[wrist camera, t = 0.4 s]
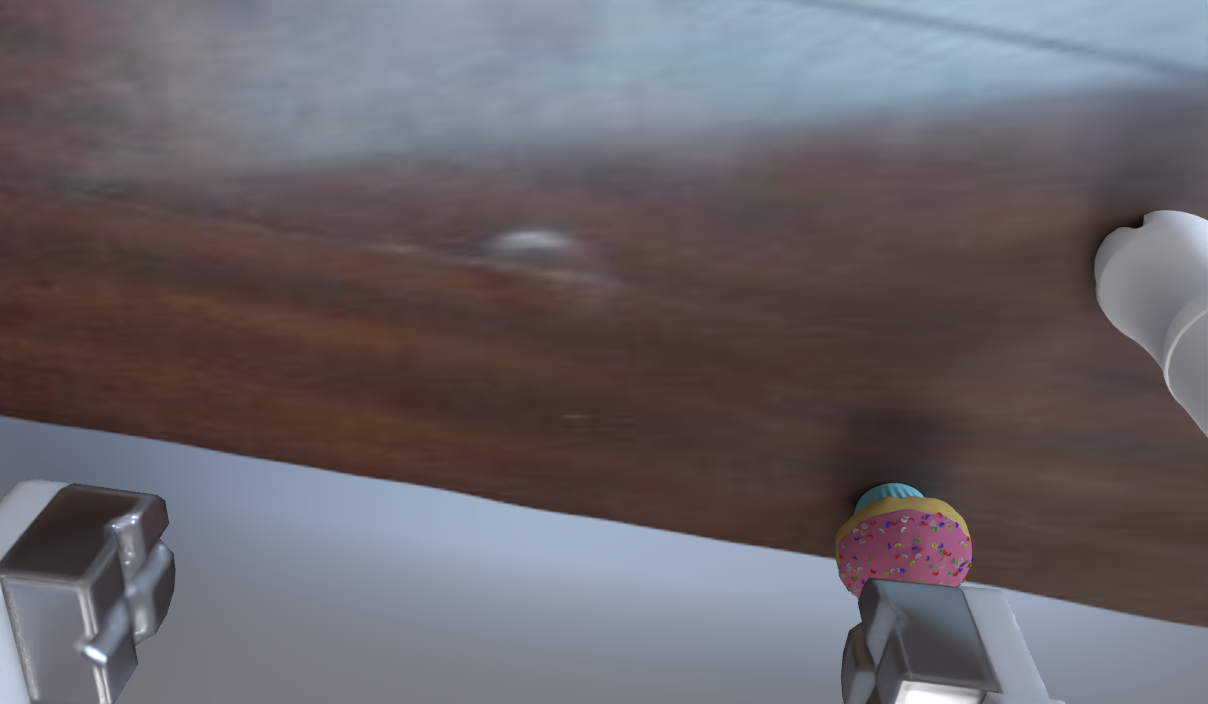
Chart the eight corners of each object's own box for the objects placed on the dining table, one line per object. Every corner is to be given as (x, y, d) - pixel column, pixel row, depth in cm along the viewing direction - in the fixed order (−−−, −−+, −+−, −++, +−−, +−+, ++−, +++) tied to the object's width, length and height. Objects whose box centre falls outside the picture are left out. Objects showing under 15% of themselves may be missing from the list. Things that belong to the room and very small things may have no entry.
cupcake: (921, 569, 71) (965, 708, 60) (805, 541, 70) (830, 676, 60) (975, 475, 67) (1032, 606, 56) (853, 443, 66) (888, 570, 55)
